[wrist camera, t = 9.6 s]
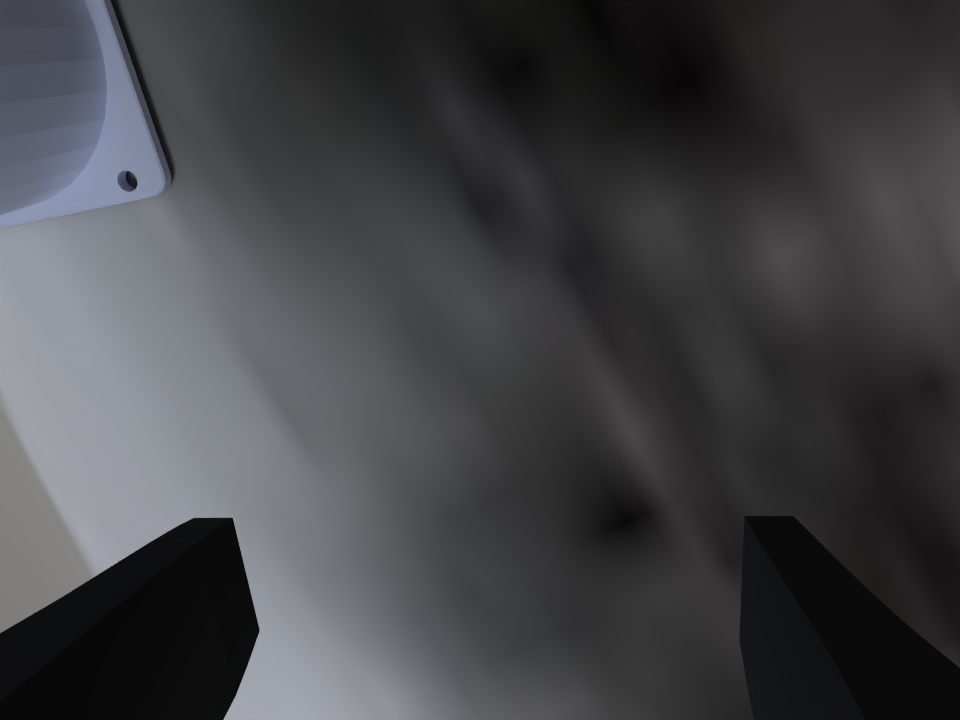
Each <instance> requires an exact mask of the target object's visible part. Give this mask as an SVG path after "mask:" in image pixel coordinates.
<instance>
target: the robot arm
mask: <svg viewBox="0 0 960 720" xmlns="http://www.w3.org/2000/svg"><path fill="white" fill-rule="evenodd" d="M127 171H130V172H131V173H133V174H134V175H135V177H136V178H137V184H138V185H137V187H136V189H134V188H133V187H131V186H130V185H129V184H128V182H127V181H126V173H127ZM170 182H171V175H170V170H169V167H168V164H167V162H166V159H165V156H164V153H163V150H162V147H161V144H160V141H159V139H158V136H157V133H156V130H155V127H154V124H153V121H152V118H151V115H150V113H149V110H148V107H147V104H146V101H145V98H144V95H143V92H142V90H141V87H140V84H139V81H138V78H137V75H136V72H135V69H134V66H133V64H132V61H131V58H130V55H129V52H128V49H127V46H126V43H125V41H124V38H123V35H122V32H121V29H120V26H119V23H118V20H117V17H116V15H115V12H114V9H113V6H112V3H111V0H0V229H1V228H6V227H11V226H16V225H21V224H25V223H30V222H35V221H40V220H44V219H49V218H54V217H59V216H64V215H68V214H73V213H78V212H83V211H87V210H92V209H97V208H102V207H107V206H111V205H116V204H121V203H126V202H131V201H135V200H140V199H145V198H150V197H154V196H156V195H159V194H161V193H163V192H165V191H166V190H167V189H168V188H169V186H170ZM259 631H260V630H259V626H258V622H257V618H256V613H255V609H254V605H253V601H252V597H251V593H250V588H249V584H248V580H247V576H246V572H245V568H244V563H243V559H242V555H241V551H240V547H239V543H238V538H237V534H236V530H235V526H234V522H233V518H193V519H191V520H189V521H187V522H185V523H183V524H181V525H179V526H177V527H176V528H174V529H172V530H170V531H169V532H167V533H165V534H163V535H162V536H160V537H158V538H157V539H155V540H153V541H152V542H150V543H148V544H147V545H145V546H144V547H142V548H140V549H139V550H137V551H135V552H134V553H132V554H131V555H129V556H127V557H126V558H124V559H123V560H121V561H119V562H118V563H116V564H115V565H113V566H111V567H110V568H108V569H107V570H105V571H103V572H102V573H100V574H99V575H97V576H95V577H94V578H92V579H91V580H89V581H87V582H86V583H84V584H83V585H81V586H79V587H78V588H76V589H75V590H73V591H72V592H70V593H68V594H67V595H65V596H63V597H62V598H60V599H58V600H57V601H55V602H53V603H52V604H50V605H48V606H46V607H45V608H43V609H41V610H39V611H38V612H36V613H34V614H33V615H31V616H29V617H27V618H26V619H24V620H22V621H21V622H19V623H17V624H15V625H14V626H12V627H10V628H9V629H7V630H5V631H3V632H2V633H0V720H223V719H224V717H225V715H226V713H227V712H228V710H229V708H230V706H231V704H232V702H233V700H234V698H235V696H236V693H237V691H238V688H239V686H240V683H241V681H242V678H243V675H244V673H245V670H246V668H247V665H248V662H249V659H250V657H251V654H252V651H253V648H254V645H255V642H256V639H257V636H258V634H259ZM740 646H741V651H742V657H743V663H744V669H745V675H746V681H747V686H748V692H749V697H750V702H751V708H752V713H753V716H754V720H960V668H959V667H958V666H957V665H956V664H954V663H953V662H952V661H951V660H949V659H948V658H947V657H946V656H944V655H943V654H942V653H941V652H939V651H938V650H937V649H936V648H934V647H933V646H932V645H931V644H930V643H928V642H927V641H926V640H925V639H923V638H922V637H921V636H920V635H919V634H917V633H916V632H915V631H914V630H913V629H912V628H910V627H909V626H908V625H907V624H906V623H905V622H903V621H902V620H901V619H900V618H899V617H898V616H897V615H896V614H895V613H894V612H892V611H891V610H890V609H889V608H888V607H887V606H886V605H885V604H884V603H882V602H881V601H880V600H879V599H878V598H877V597H876V596H875V595H874V594H873V593H871V592H870V591H869V590H868V589H867V588H866V587H865V586H864V585H863V584H862V583H861V582H860V581H859V580H858V579H857V578H856V577H855V576H854V575H853V574H852V573H851V572H849V571H848V570H847V569H846V568H845V567H844V566H843V565H842V564H841V563H840V562H839V561H838V560H837V559H836V558H835V557H834V556H833V555H832V554H831V553H830V552H829V551H828V550H827V549H826V548H825V547H824V546H823V545H822V544H821V543H820V542H819V541H818V540H817V539H816V538H815V537H814V536H813V535H812V534H811V533H810V532H809V531H808V530H807V529H806V528H805V527H804V526H803V525H802V524H801V523H800V522H799V521H798V520H797V519H795V518H794V517H793V516H745V517H744V542H743V567H742V592H741V617H740Z"/></svg>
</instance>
